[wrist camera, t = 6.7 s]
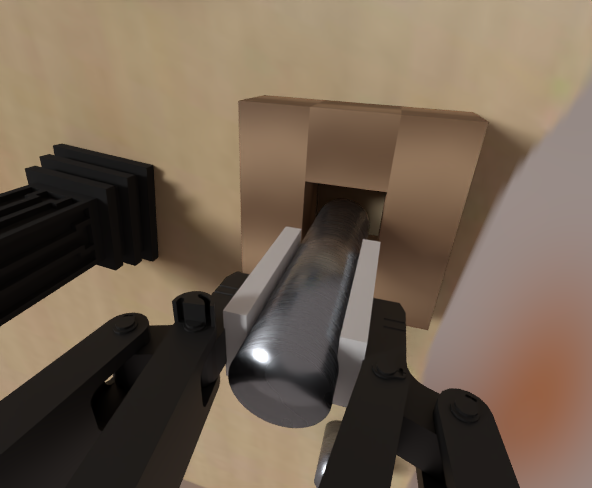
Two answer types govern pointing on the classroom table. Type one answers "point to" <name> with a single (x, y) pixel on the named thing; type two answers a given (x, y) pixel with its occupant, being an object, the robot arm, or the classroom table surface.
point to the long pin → (303, 324)
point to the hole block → (361, 182)
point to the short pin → (326, 449)
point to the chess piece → (73, 223)
